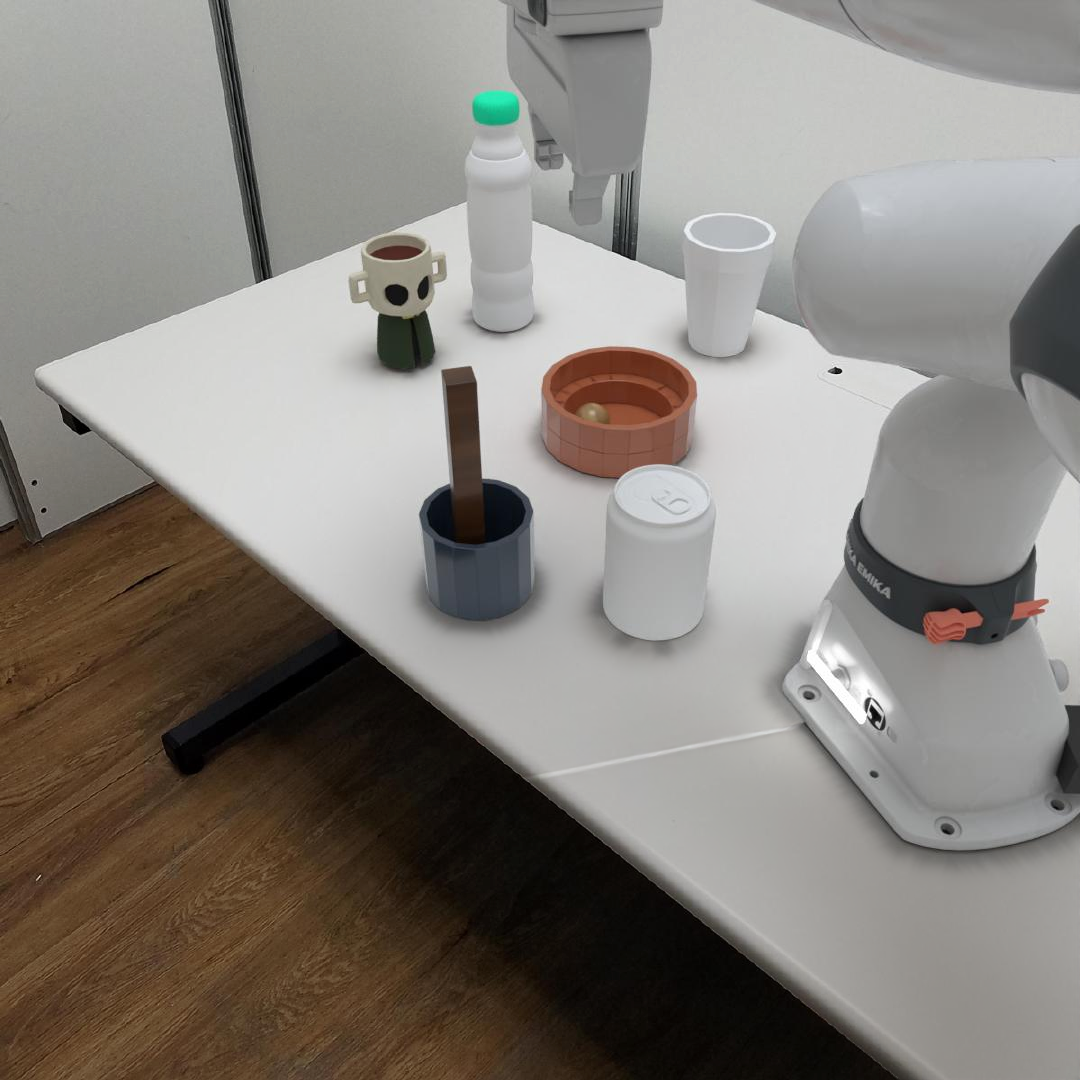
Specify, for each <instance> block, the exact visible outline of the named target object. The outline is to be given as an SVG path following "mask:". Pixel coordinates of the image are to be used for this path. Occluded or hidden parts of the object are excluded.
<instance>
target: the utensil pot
mask: <svg viewBox="0 0 1080 1080" xmlns="http://www.w3.org/2000/svg"><path fill="white" fill-rule="evenodd" d="M482 485H483V504H484V522H485V540H486V543H483V544H477V545H474V544H464V543H455V540H454V527H453V514H452V502H451V489H450V483H448V484H445V485H443V486H440V487H438V488H437V489H435V490H434V491H433V492H432V493H431V494H429V496H427V497H426V498H425V499H424V500H423V503H422V505H421V508H420V510H419V513H418V519H419V529H420V540H421V549H422V557H423V566H424V567H423V568H424V578H425V586H426V589H427V594H428V598H429V599H430V600H431V602H432V603H433V604H434V606H435V607H437V608H438V609H439V610H440V611H441V612H443V613H444V614H446V615H449V616H451V617H454V618H457V619H460V620H466V621H479V622H480V621H481V622H483V621H490V620H494V619H499V618H503V617H506V616H507V615H510V614H512V613H513V612H515V611H517V610H519V609H520V608H521V607H522V606H524V604H525V603H526V602H527V601H528V600H529V598H530V597H531V596H532V593H533V590H534V585H535V578H536V577H535V520H534V519H535V517H534V513H535V512H534V508H533V506H532V503H531V499H530V498H529V497H528V496H527V494H525V493H524V492H523V491H522V490H520V489H519V488H518V487H517V486H515V485H513V484H510V483H507V482H505V481H502V480H500V479H493V478H484V477H482Z"/></svg>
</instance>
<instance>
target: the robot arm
mask: <svg viewBox="0 0 1080 1080" xmlns="http://www.w3.org/2000/svg"><path fill="white" fill-rule="evenodd" d="M498 1H499V2H500V3H502V4H504V5H506V63H507V71H508V75H509V78H510V80H511V82H512V83H513V84H514V85H515V86H516V89H518V91H519V93H520V94H521V95H522V96H523V98H524V99H525V101H526V102H527V111H528V117H529V122H530V127H531V128H530V129H531V133H532V137H533V159H534V161H535V163H536V164H537V166H538V167H539V168H540V170H542V171H550V170H560V169H561V168H563V166H564V161H565V160H564V156H565V157H566V158H567V160H568V162H570V164H571V172H572V173H573V182H572V190H571V189H570V190H568V204H569V206H568V212H569V215H570V217H571V218H572V220H573V222H574V223H575V224H576V225H578V226H579V227H582V226H583V227H584V226H591V225H592V226H593V225H597V224H599V223H600V222H601V221H602V218H603V197H604V195H605V193H606V190H607V188H608V185H609V181H610V179H611V177H612V176H617V175H623V174H629V173H632V172H633V171H634V170H635V169H636V167H637V165H638V164H639V161H640V159H641V157H642V154H643V150H644V147H645V138H646V131H647V130H646V129H647V122H648V111H649V101H650V91H651V80H652V66H653V63H652V61H653V55H652V54H653V53H652V52H653V51H652V42H651V37H650V34H649V32H648V29H655V28H658V27H660V26H661V24H662V21H663V13H664V0H498ZM751 1H753V2H755V3H759V4H760V5H762V6H766V7H768V8H771V9H772V10H773V9H774V10H776V11H779V12H782V13H784V14H787V15H789V16H792V17H795V18H797V19H799V20H800V19H801V20H803V21H805V22H808V23H811V24H814V25H816V26H819V27H822V28H824V29H827V30H830V31H832V32H834V33H838V34H840V35H842V36H845V37H847V38H850V39H853V40H855V41H857V42H860V43H863V44H866V45H868V46H871V47H873V48H876V49H879V50H881V51H884V52H887V53H890V54H892V55H896V56H898V57H900V58H903V59H905V60H908V61H912V62H914V63H918V64H920V65H923V66H927V67H930V68H932V69H936V70H939V71H942V72H946V73H951V74H954V75H958V76H962V77H966V78H969V79H974V80H979V81H984V82H989V83H996V84H1000V85H1006V86H1011V87H1016V88H1017V87H1018V88H1023V89H1027V90H1036V91H1044V92H1052V93H1061V94H1070V95H1080V0H751ZM791 284H792V293H793V298H794V301H795V305H796V308H797V310H798V313H799V316H800V318H801V320H802V322H803V323H804V325H805V327H806V329H807V330H808V332H809V333H810V335H811V336H812V337H813V339H815V341H816V343H818V344H819V346H821V347H822V348H823V350H824V351H826V352H827V353H828V354H830V355H832V356H836V357H841V358H846V359H847V358H848V359H853V360H858V361H865V362H871V363H877V364H885V365H891V366H897V367H902V368H908V369H913V370H920V371H923V372H929V373H933V374H937V376H934V377H933V378H930V379H929V380H927V381H925V382H922V383H921V384H919V385H918V386H917V387H915V388H913V389H911V390H910V391H909V392H908V393H906V394H905V395H904V396H903V397H902V398H901V399H900V400H898V402H897V403H896V404H895V405H894V406H893V407H892V408H891V410H890V412H889V413H888V415H887V416H886V417H885V419H884V421H883V423H882V425H881V427H880V430H879V434H878V436H877V437H878V438H877V442H876V447H875V451H874V455H873V458H872V463H871V467H870V471H869V475H868V479H867V483H866V487H865V492H864V495H863V497H862V498H861V500H859V502H858V503H857V504H856V507H855V508H854V511H853V515H852V518H851V519H850V521H849V524H848V526H847V530H846V535H845V545H844V549H843V562H844V564H843V567H842V568H841V569H840V571H839V574H838V575H837V577H836V579H835V580H834V582H833V583H832V585H831V587H830V589H829V590H828V591H827V593H826V595H825V596H824V598H823V599H822V601H821V604H820V606H819V608H818V610H817V613H816V615H815V618H814V620H813V623H812V626H811V629H810V632H809V634H808V637H807V639H806V643H805V645H804V648H803V651H802V654H801V657H800V660H799V661H798V662H797V663H796V664H794V665H793V667H791V669H790V670H789V671H788V672H787V673H786V675H785V677H784V679H783V682H782V684H781V689H782V692H783V694H784V695H785V696H786V698H787V699H788V700H789V702H790V703H791V705H793V707H795V709H796V710H797V711H798V712H799V714H800V715H801V716H802V718H803V720H804V721H805V722H804V723H805V725H807V727H808V728H809V729H810V731H812V733H813V734H814V735H815V736H816V737H817V739H818V740H819V742H820V743H821V744H822V746H824V747H825V749H826V750H827V751H828V752H829V753H830V754H831V756H832V757H833V759H834V760H835V761H836V762H837V763H838V764H839V765H840V767H841V768H842V769H843V771H844V772H845V773H846V774H847V776H849V778H850V779H851V780H852V781H853V783H854V784H855V785H856V786H857V787H858V789H860V791H861V792H862V793H863V795H864V796H865V797H866V798H867V799H868V800H869V802H870V803H871V805H872V806H873V807H874V808H875V809H876V811H877V812H878V813H879V814H880V815H881V816H882V818H883V819H884V820H885V821H886V822H887V824H888V825H889V826H890V827H891V829H893V831H894V832H895V833H896V834H897V835H898V836H899V837H900V838H901V839H902V840H904V841H906V842H908V843H911V844H915V845H918V846H921V847H926V848H929V849H930V848H931V849H938V850H943V851H976V850H977V851H978V850H979V851H980V850H985V849H986V850H987V849H995V848H999V847H1004V846H1010V845H1015V844H1020V843H1023V842H1027V841H1030V840H1034V839H1037V838H1039V837H1043V836H1045V835H1048V834H1050V833H1053V832H1055V831H1057V830H1059V829H1061V828H1063V827H1065V826H1066V825H1067V824H1069V823H1071V821H1073V820H1074V819H1075V818H1076V817H1077V816H1078V815H1079V814H1080V704H1079V705H1078V704H1074V705H1073V704H1065V703H1064V700H1063V697H1062V695H1061V694H1062V693H1063V692H1064V691H1066V690H1067V688H1068V686H1069V681H1070V678H1069V677H1070V676H1069V671H1068V667H1067V666H1066V664H1065V662H1064V661H1062V659H1061V660H1060V659H1058V658H1049V656H1048V654H1047V651H1046V648H1045V645H1044V643H1043V639H1042V637H1041V634H1040V632H1039V629H1038V622H1039V621H1038V615H1041V614H1043V613H1045V612H1046V609H1045V608H1042V607H1044V606H1046V605H1047V604H1049V603H1050V600H1049V598H1040V599H1036V600H1035V594H1036V593H1035V589H1036V574H1037V570H1038V569H1037V568H1038V563H1037V547H1036V541H1037V539H1038V536H1039V534H1040V531H1041V529H1042V526H1043V524H1044V522H1045V520H1046V516H1047V514H1048V512H1049V510H1050V508H1051V505H1052V504H1053V501H1054V499H1055V497H1056V494H1057V493H1058V490H1059V489H1060V486H1061V485H1062V482H1063V480H1064V478H1065V476H1066V475H1067V473H1069V474H1070V475H1071V477H1072V478H1073V479H1074V480H1075V481H1076V482H1077V483H1078V484H1080V155H1058V156H1057V155H1056V156H1024V157H1023V156H1020V157H1019V156H1018V157H995V158H994V157H992V158H989V157H988V158H959V159H957V158H955V159H928V160H922V161H916V162H911V163H905V164H900V165H896V166H891V167H888V168H887V167H886V168H882V169H877V170H873V171H870V172H865V173H861V174H858V175H853V176H849V177H846V178H842V179H838V180H836V181H835V182H833V183H832V184H831V185H830V186H829V187H828V188H827V189H826V190H825V191H824V192H823V193H822V194H821V195H820V197H819V198H818V199H817V200H816V202H815V203H814V204H813V206H812V208H811V209H810V210H809V212H808V214H807V215H806V217H805V219H804V221H803V223H802V225H801V228H800V230H799V232H798V235H797V238H796V241H795V245H794V248H793V254H792V262H791ZM1056 808H1057V809H1056ZM944 831H946V832H948V833H949V834H947V833H945V832H944Z"/></svg>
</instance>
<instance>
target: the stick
mask: <svg viewBox="0 0 1080 1080" xmlns="http://www.w3.org/2000/svg"><path fill="white" fill-rule="evenodd" d="M440 375H441V376H440V377H441V385H442V398H443V399H442V401H443V412H444V422H445V423H444V424H445V437H446V451H447V462H448V477H449V484H450V489H451V502H452V514H453V527H454V540H455V543H464V544H474V545H477V544H483V543H486V540H485V522H484V504H483V485H482V478H483V470H482V469H483V468H482V467H483V466H482V451H481V432H480V415H479V414H480V412H479V398H478V397H479V396H478V395H479V393H478V381H477V378H476V375H475V373H474V369H473V367H472V365H465V366H459V367H458V366H457V367H452V368H443V369H441V370H440Z"/></svg>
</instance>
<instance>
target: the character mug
mask: <svg viewBox="0 0 1080 1080" xmlns="http://www.w3.org/2000/svg"><path fill="white" fill-rule="evenodd" d="M360 257H361V264H362V265H361V266H362V270H360V271H357V272H353V273H351V274H349V276H348V285H349V286H348V288H349V294H350V295H349V296H350V301H351V302H352V304H362V303H365V302H368V304H369V305H370V308H372V310H374V311H375V312H377V313H378V315H377V324H376V325H377V326H376V327H377V328H376V353H377V356H378V359H379V360H380V361H381V362H382V363H384V365H386V366H387V367H391V368H395V369H400V370H401V369H413V368H415V367H416V366H415V365H416V364H415V360H416V359H418V358H420V360H421V365H426V364H428V363H429V362H431V361H432V360H433V359H434V357H435V355H436V346H435V341H434V336H433V332H432V331H433V330H432V328H431V322H430V319H429V315H428V311H427V308H429V307H430V306H431V304H432V303H433V300H434V296H435V293H436V292H435V290H436V289H435V284H438V283H441V282H444V281H446V280H447V277H448V271H447V269H448V267H447V256H446V254H445V251H436V252H432V247H431V244H430V242H429V240H428V239H427V237H424V236H422V235H420V234H416V233H412V232H401V231H400V232H397V231H396V232H388V233H381V234H378V235H375V236H373V237H370V238H369V239H367V240H366V241H365V242H363V244H362V246H361V248H360ZM436 262H437V273H434V266H433V264H434V263H436ZM362 281H364V288H365V291H363V292H360V287H359V282H362Z"/></svg>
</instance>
